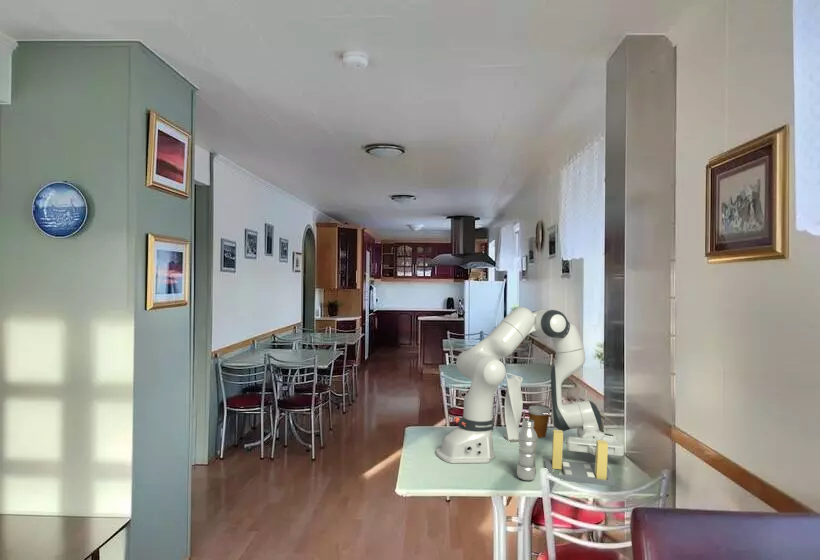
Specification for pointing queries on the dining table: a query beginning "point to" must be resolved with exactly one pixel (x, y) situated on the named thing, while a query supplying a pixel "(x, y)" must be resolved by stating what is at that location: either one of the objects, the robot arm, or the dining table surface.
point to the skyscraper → (513, 408)
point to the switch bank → (579, 472)
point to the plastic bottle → (527, 451)
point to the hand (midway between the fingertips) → (597, 453)
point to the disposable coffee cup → (539, 419)
